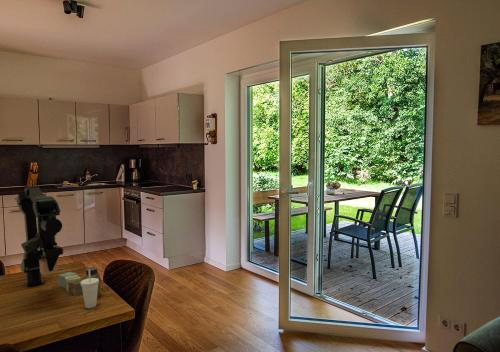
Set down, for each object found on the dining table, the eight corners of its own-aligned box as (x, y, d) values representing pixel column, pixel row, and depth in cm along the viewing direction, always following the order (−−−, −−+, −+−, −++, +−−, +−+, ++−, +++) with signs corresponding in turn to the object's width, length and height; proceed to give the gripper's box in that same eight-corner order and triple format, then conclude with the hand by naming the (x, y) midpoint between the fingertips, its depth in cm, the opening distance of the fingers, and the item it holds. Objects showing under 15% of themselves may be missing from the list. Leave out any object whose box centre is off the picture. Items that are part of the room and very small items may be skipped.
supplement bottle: (94, 299, 144) (93, 271, 143) (81, 298, 145) (79, 270, 144) (103, 293, 149) (102, 266, 149) (90, 293, 151) (89, 265, 150)
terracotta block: (40, 272, 144) (39, 259, 144) (53, 269, 148) (53, 256, 147) (43, 275, 141) (42, 262, 140) (57, 272, 144) (57, 259, 144)
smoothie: (82, 311, 134) (80, 273, 132) (81, 304, 139) (79, 268, 138) (101, 307, 136) (99, 270, 135) (99, 301, 142) (97, 265, 141)
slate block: (59, 286, 159) (58, 275, 158) (70, 282, 163) (69, 271, 163) (66, 288, 156) (66, 277, 156) (77, 284, 161) (76, 273, 160)
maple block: (65, 288, 156) (64, 277, 155) (78, 286, 159) (77, 274, 158) (68, 292, 152) (67, 280, 151) (81, 289, 155) (80, 277, 154)
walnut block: (68, 293, 150) (68, 281, 150) (80, 290, 154) (80, 278, 154) (75, 296, 147) (74, 284, 147) (87, 292, 151) (86, 280, 151)
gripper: (16, 229, 144) (19, 269, 145) (28, 237, 131) (31, 280, 132) (48, 225, 152) (50, 262, 153) (62, 232, 138) (64, 273, 139)
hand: (48, 269), depth 144 cm, fingers closed on terracotta block, 5 cm apart
